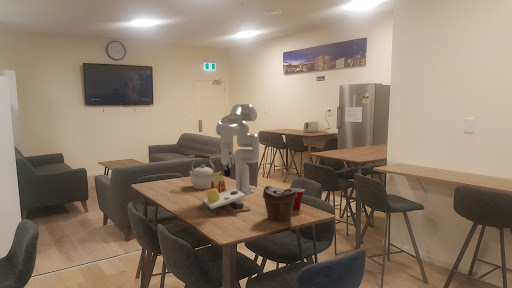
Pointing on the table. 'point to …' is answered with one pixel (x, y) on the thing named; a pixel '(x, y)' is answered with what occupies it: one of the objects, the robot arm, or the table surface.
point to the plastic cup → (298, 201)
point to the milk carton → (218, 182)
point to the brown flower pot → (279, 203)
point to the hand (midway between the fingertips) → (227, 175)
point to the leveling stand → (224, 208)
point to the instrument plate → (222, 197)
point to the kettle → (201, 174)
